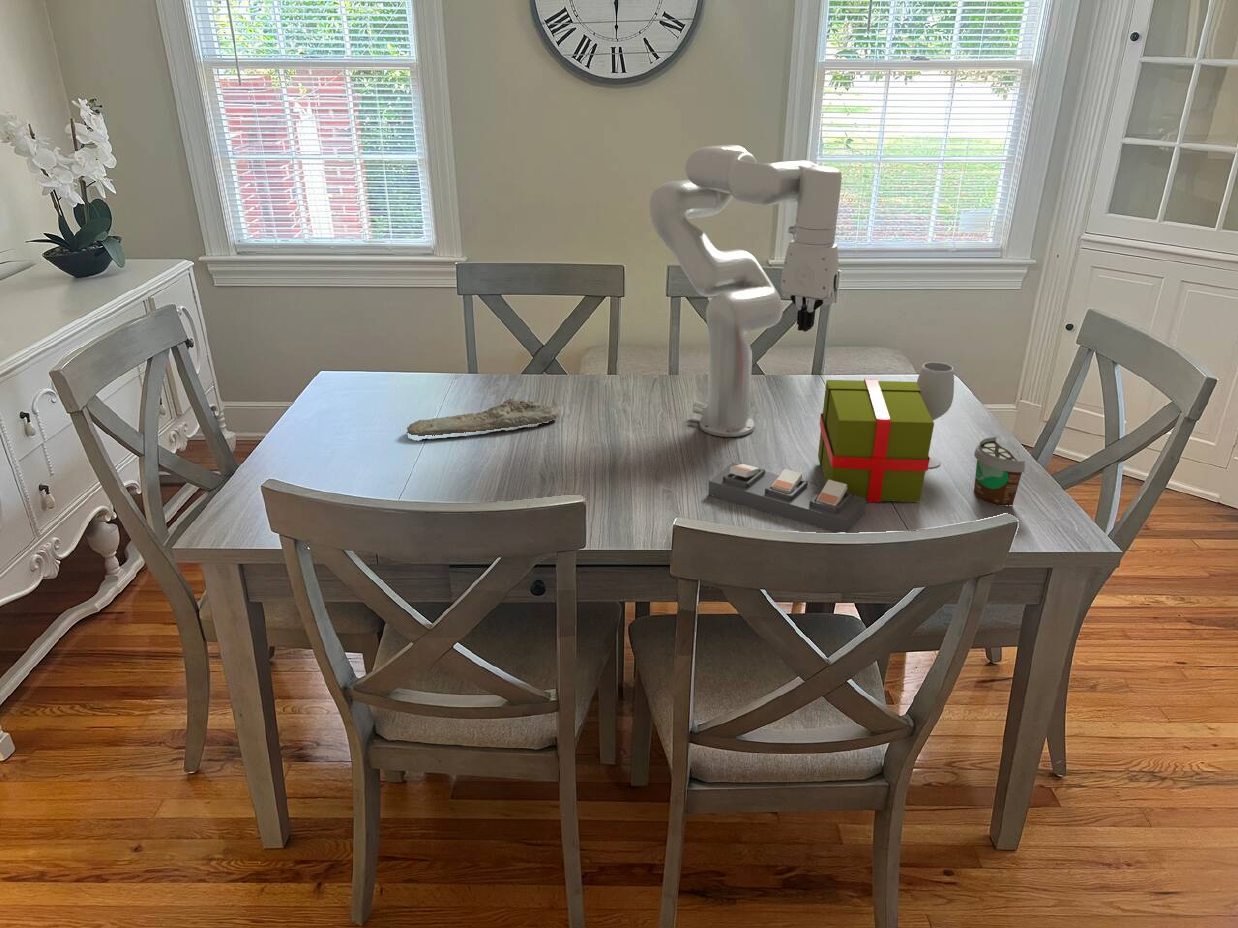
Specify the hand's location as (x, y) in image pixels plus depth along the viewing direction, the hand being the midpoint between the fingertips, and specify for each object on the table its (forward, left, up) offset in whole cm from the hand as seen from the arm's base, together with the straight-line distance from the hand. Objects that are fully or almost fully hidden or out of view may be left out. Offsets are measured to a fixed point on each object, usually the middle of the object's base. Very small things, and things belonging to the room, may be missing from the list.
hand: (804, 329), depth 175 cm
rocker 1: (-2, -19, -24) cm, 31 cm away
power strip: (+7, -19, -29) cm, 35 cm away
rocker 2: (+7, -19, -24) cm, 31 cm away
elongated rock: (-66, -23, -29) cm, 76 cm away
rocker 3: (+16, -19, -24) cm, 34 cm away
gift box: (+15, +1, -29) cm, 33 cm away
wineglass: (+23, +15, -29) cm, 40 cm away
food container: (+38, +6, -29) cm, 48 cm away
